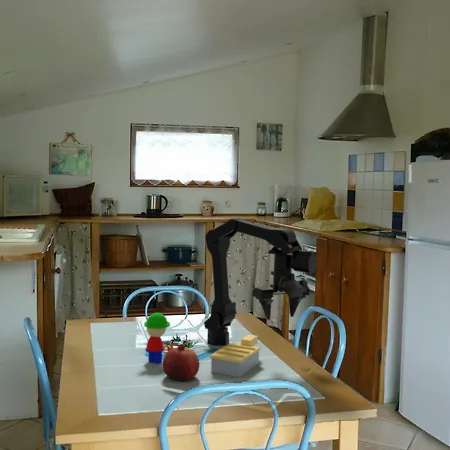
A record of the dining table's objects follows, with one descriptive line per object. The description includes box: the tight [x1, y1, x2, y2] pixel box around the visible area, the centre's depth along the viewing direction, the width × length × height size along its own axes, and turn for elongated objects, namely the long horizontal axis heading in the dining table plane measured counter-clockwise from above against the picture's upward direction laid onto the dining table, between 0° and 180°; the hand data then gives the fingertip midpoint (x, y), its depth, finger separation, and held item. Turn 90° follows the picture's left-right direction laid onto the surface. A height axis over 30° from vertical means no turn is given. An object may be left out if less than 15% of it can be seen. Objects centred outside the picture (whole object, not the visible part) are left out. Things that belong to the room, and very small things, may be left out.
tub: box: [210, 350, 260, 378], centre depth 171 cm, size 14×9×5 cm, turn 154°
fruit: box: [162, 343, 200, 382], centre depth 161 cm, size 11×10×10 cm
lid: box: [209, 334, 261, 363], centre depth 173 cm, size 20×10×2 cm, turn 154°
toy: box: [143, 312, 171, 364], centre depth 177 cm, size 8×8×15 cm
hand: (280, 318), depth 181 cm, fingers open, 9 cm apart
